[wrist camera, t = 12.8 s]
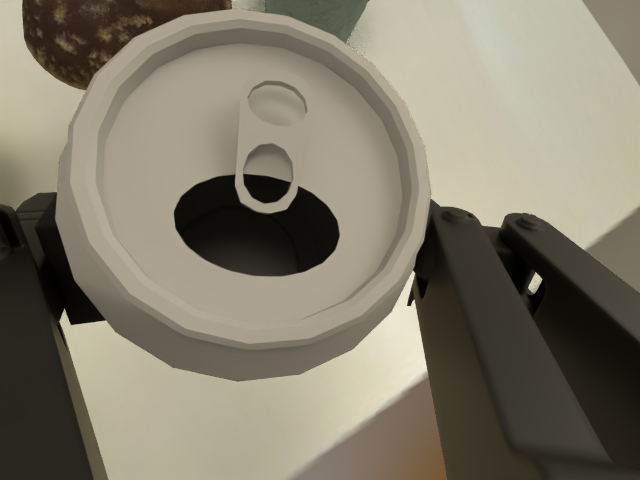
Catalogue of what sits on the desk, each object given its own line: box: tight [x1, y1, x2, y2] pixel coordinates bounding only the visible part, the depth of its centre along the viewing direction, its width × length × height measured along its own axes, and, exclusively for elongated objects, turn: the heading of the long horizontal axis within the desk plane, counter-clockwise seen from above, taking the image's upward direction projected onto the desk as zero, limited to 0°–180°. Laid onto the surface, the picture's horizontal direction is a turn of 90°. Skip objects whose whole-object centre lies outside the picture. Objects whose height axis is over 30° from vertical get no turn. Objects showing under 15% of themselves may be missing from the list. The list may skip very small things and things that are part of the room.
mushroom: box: [22, 0, 232, 90], centre depth 23 cm, size 9×9×15 cm
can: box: [55, 9, 431, 381], centre depth 12 cm, size 8×8×12 cm
